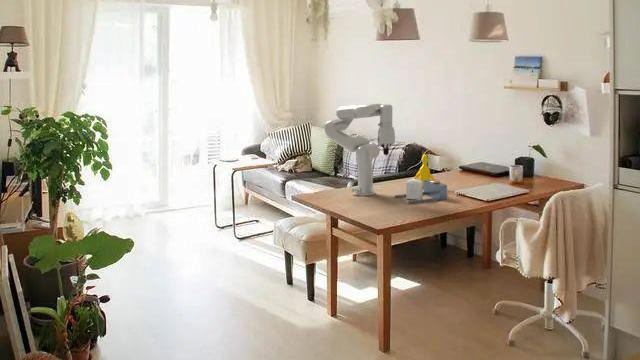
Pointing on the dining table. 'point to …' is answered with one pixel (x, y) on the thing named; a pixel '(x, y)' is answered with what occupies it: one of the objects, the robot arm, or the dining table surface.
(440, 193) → the motor mount
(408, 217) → the dining table surface
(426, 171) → the figure statuette
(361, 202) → the dining table surface
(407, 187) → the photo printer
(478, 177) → the dining table surface
